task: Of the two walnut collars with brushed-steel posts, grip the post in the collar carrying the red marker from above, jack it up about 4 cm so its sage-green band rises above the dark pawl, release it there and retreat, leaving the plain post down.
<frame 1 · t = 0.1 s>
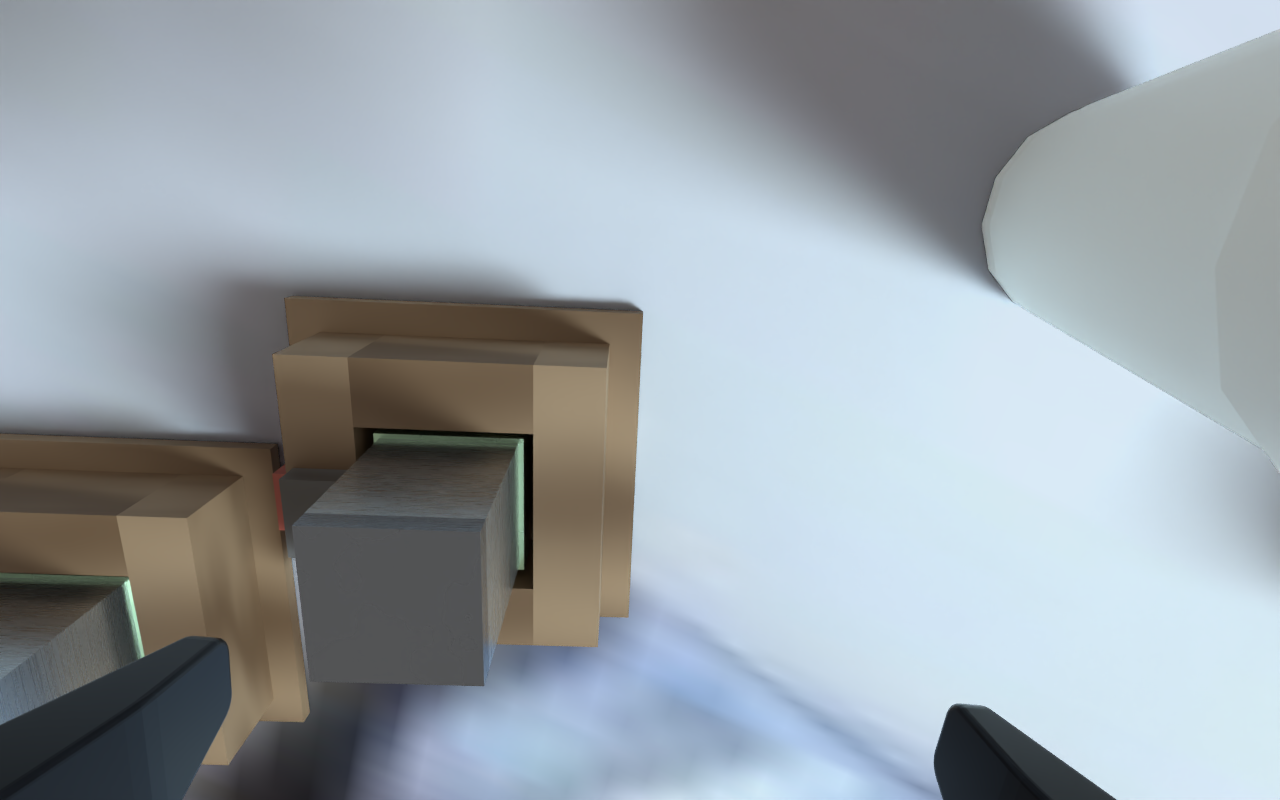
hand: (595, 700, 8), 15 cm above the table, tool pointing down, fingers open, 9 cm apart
foam cup: (1080, 217, 21), on the table
marked post: (437, 528, 19), point 5 cm above the table, slide at 0.0 cm
marked collar: (473, 464, 23), on the table
plain post: (31, 668, 20), point 5 cm above the table, slide at 0.0 cm
plain collar: (138, 582, 24), on the table
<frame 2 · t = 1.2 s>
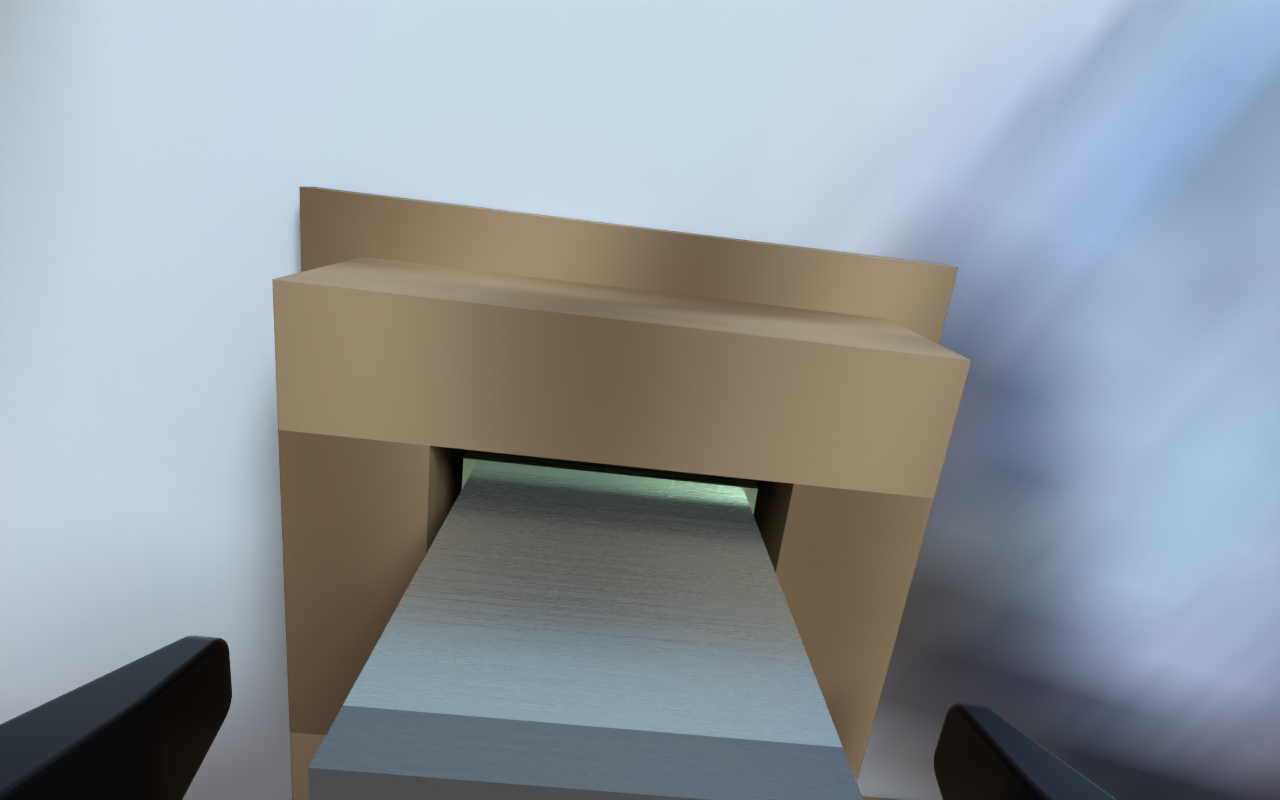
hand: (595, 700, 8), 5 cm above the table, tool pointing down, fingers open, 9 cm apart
marked post: (592, 669, 9), point 5 cm above the table, slide at 0.0 cm
marked collar: (603, 513, 13), on the table
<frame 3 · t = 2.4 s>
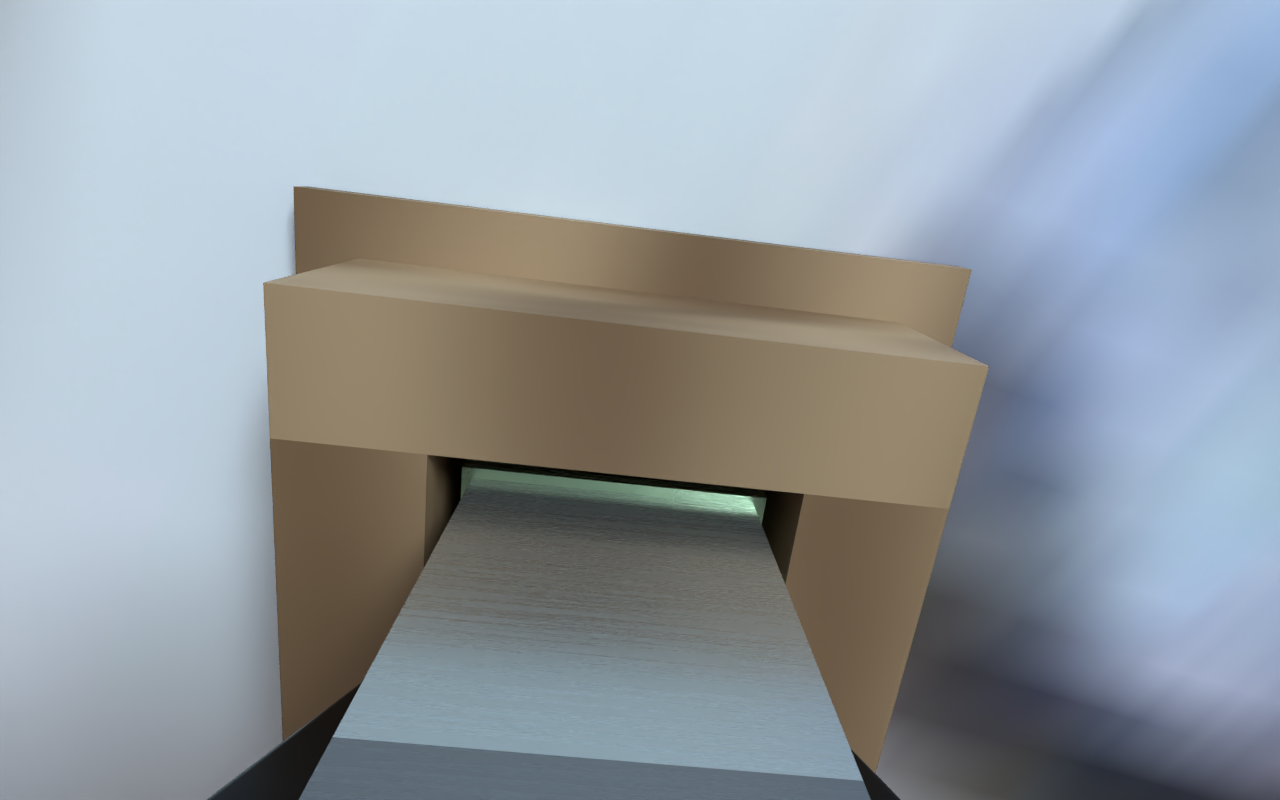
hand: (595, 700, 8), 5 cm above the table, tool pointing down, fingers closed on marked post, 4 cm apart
marked post: (595, 686, 9), point 5 cm above the table, slide at 0.0 cm, touching gripper
marked collar: (606, 520, 13), on the table
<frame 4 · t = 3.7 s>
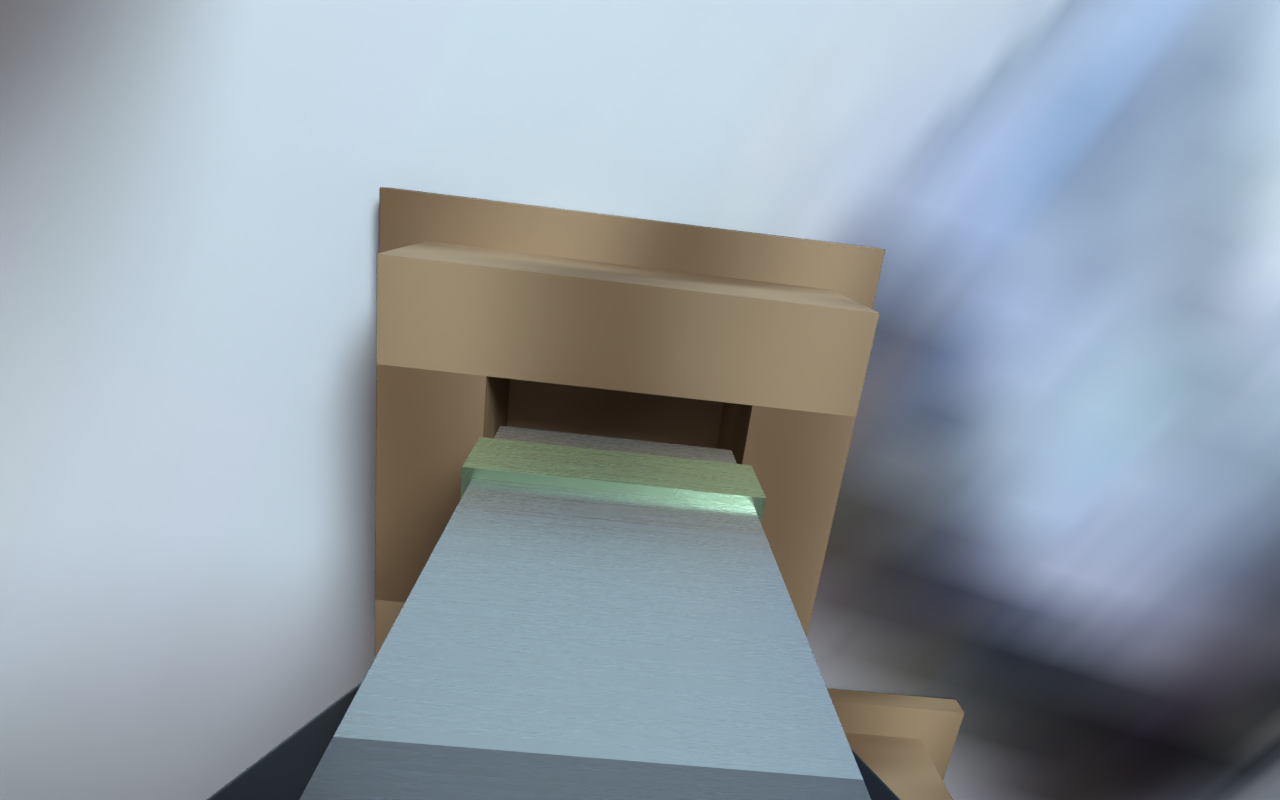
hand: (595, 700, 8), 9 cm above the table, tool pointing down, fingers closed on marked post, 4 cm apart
marked post: (595, 685, 9), point 8 cm above the table, slide at 3.9 cm, touching gripper
marked collar: (610, 447, 17), on the table
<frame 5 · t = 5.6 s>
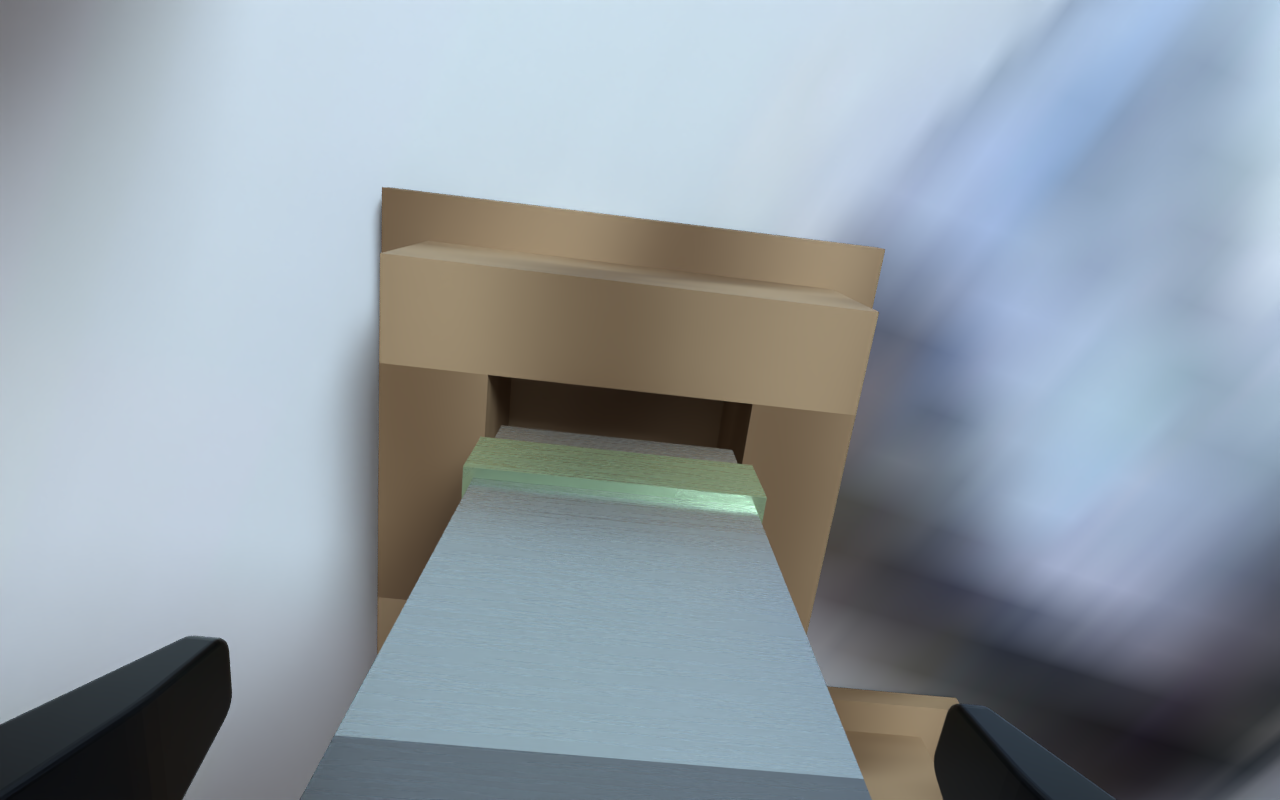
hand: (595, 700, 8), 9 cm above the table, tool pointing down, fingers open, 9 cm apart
marked post: (596, 685, 9), point 9 cm above the table, slide at 4.0 cm
marked collar: (611, 446, 17), on the table
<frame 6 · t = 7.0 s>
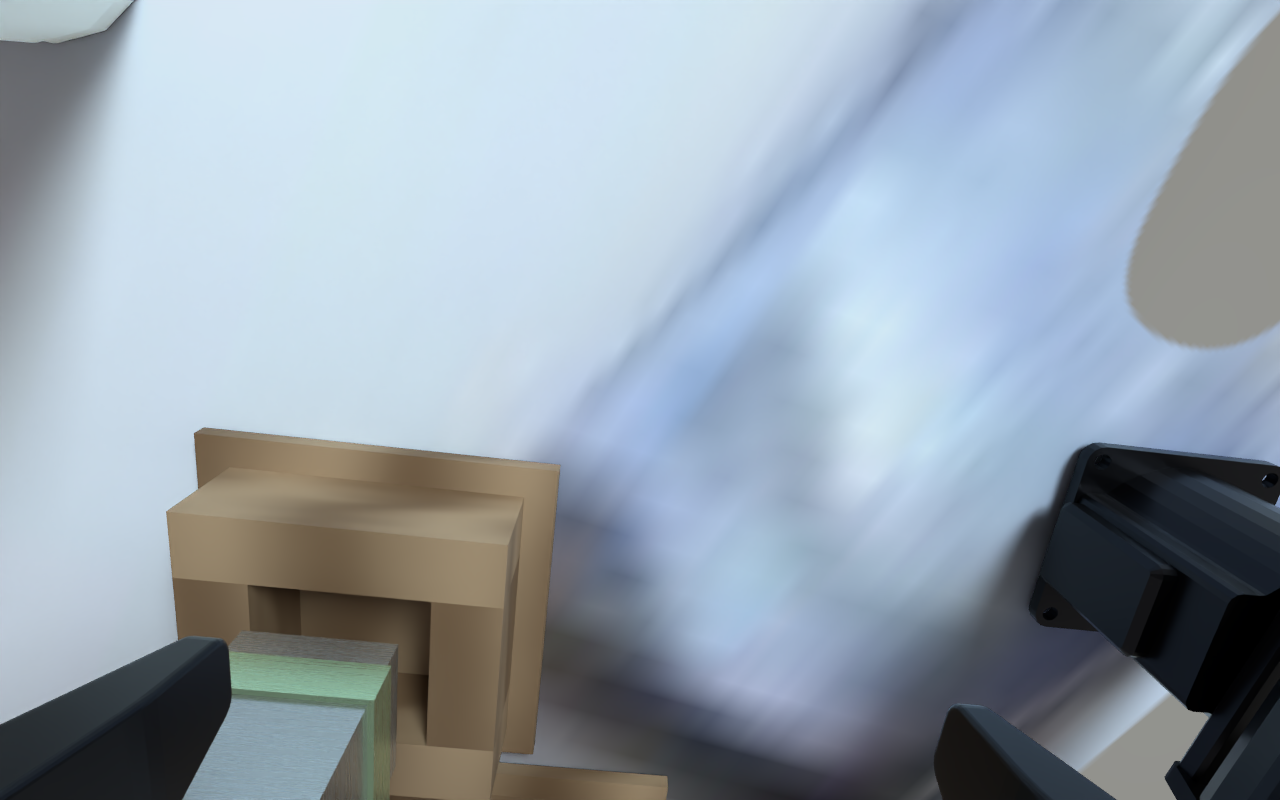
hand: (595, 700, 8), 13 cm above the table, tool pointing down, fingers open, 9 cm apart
marked collar: (382, 598, 23), on the table
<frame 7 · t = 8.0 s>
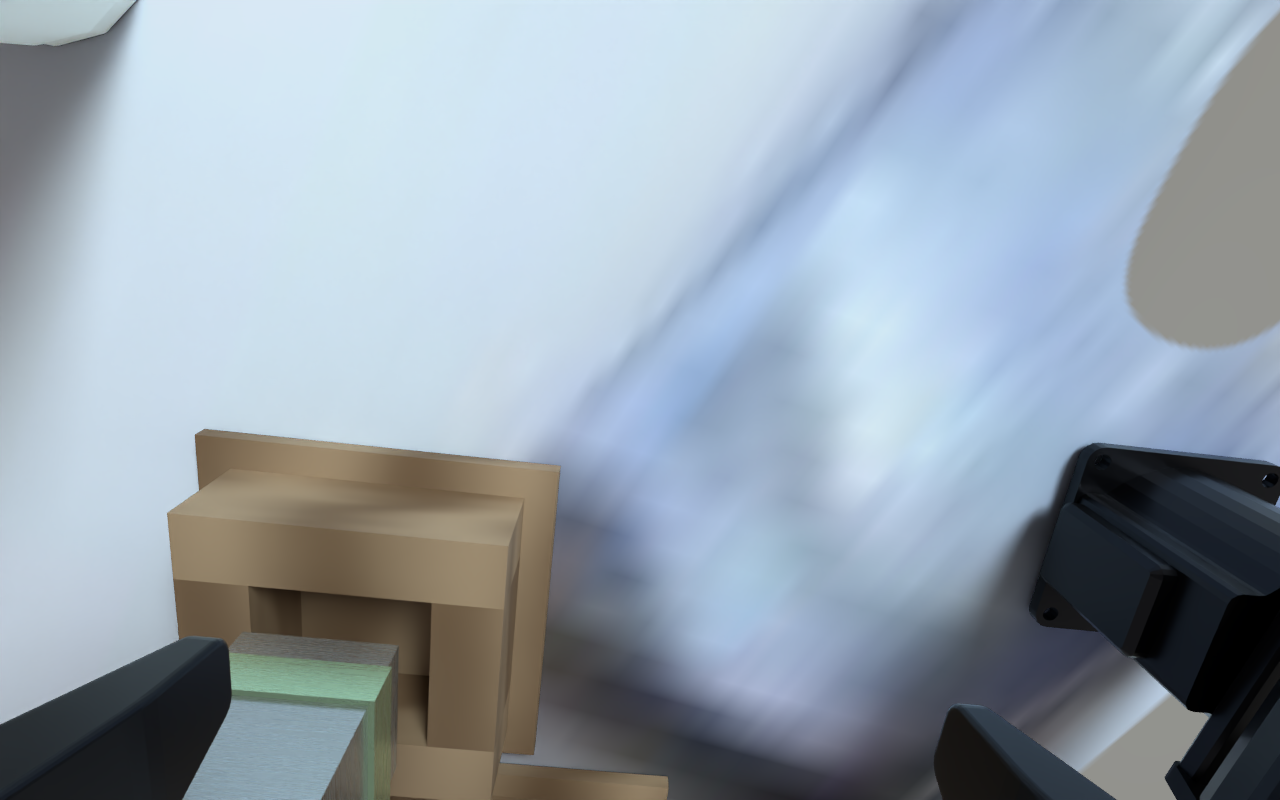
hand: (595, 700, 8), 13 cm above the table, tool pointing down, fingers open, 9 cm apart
marked collar: (383, 599, 23), on the table
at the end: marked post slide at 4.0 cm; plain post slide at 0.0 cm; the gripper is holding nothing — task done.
